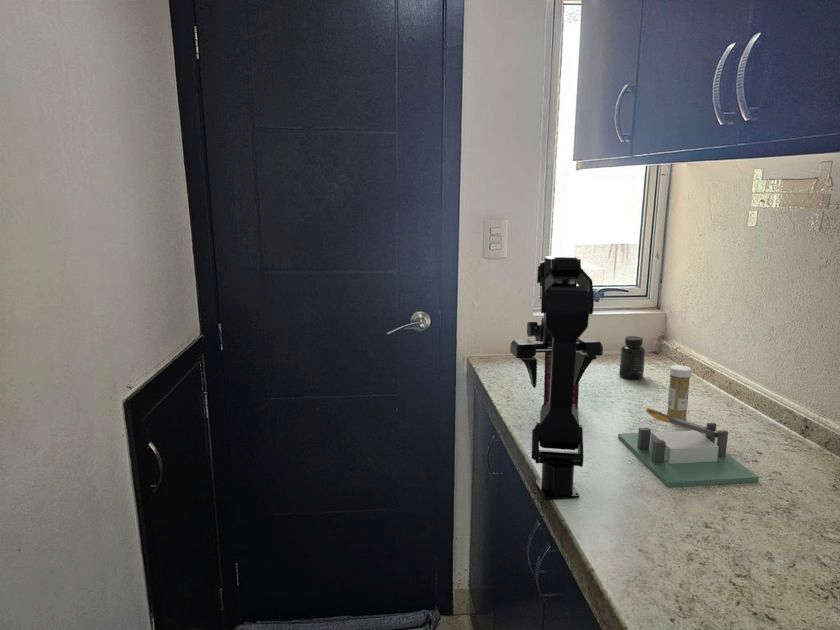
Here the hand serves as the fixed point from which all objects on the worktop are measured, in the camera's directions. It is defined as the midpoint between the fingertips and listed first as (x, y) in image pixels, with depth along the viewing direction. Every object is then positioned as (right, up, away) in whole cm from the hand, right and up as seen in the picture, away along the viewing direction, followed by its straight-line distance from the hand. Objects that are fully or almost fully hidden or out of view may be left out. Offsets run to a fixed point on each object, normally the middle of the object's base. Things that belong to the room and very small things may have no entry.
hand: (554, 386), depth 124 cm
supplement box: (+7, -9, +23) cm, 25 cm away
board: (+25, -14, -5) cm, 30 cm away
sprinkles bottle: (+33, -10, +14) cm, 37 cm away
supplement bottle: (+34, -3, +47) cm, 58 cm away
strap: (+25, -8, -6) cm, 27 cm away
